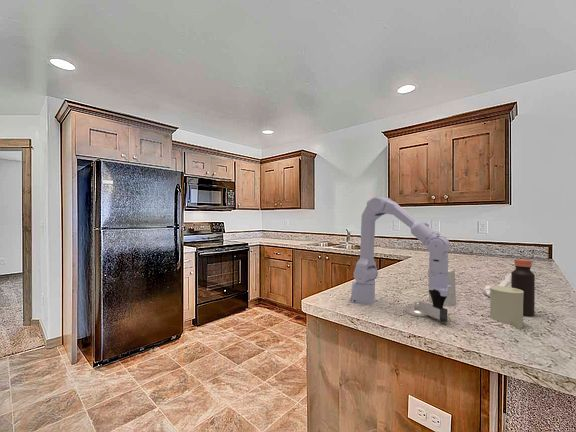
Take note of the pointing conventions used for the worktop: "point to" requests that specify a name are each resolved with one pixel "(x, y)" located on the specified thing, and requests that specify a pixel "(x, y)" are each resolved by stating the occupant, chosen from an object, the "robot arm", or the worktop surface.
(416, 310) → the crank handle
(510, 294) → the can
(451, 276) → the skincare box
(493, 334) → the worktop surface
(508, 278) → the plastic part
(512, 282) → the bottle
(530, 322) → the worktop surface
